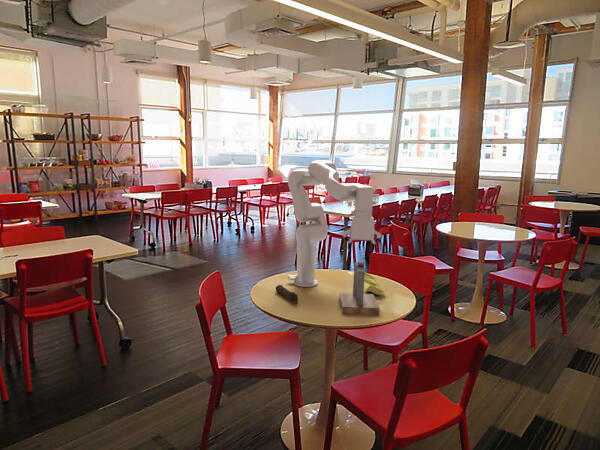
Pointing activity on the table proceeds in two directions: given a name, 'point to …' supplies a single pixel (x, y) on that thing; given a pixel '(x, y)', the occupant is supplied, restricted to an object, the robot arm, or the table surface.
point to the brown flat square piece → (351, 308)
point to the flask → (359, 282)
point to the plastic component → (372, 285)
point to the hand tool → (287, 294)
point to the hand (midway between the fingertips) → (360, 251)
